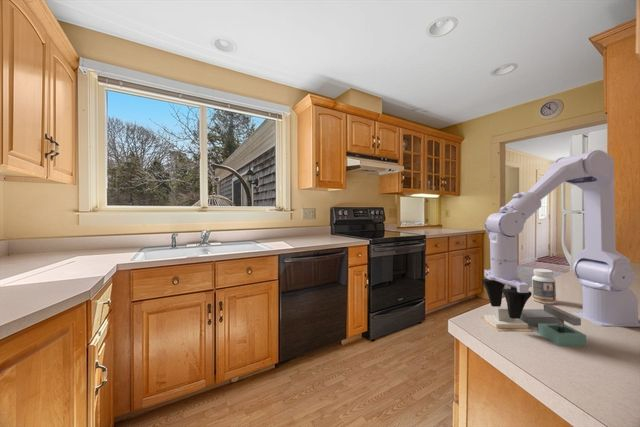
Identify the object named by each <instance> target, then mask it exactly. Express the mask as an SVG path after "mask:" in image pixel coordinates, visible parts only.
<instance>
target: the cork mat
mask: <svg viewBox="0 0 640 427" xmlns="http://www.w3.org/2000/svg"><path fill="white" fill-rule="evenodd" d="M480 319H482V321H485V322H486V323H487V324H488V325H489V326H491V327H492V328H493V329H495V330H496V331H497V332H534V330H532V329H531V328H529V327H528V328H496V327H494V326H493V325H492V324H490V323H489V322H488V321H487V320H485V319H484V316H480Z"/></svg>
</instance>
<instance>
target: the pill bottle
mask: <svg viewBox="0 0 640 427" xmlns="http://www.w3.org/2000/svg"><path fill="white" fill-rule="evenodd" d="M533 274H534V275H533V276H532V277H531V293H532V295H531V297H532V300H533V301H534V302H537V303H540V304H550V305H554V304H555V303H557V292H556V291H557V288H556V279H555V278H554V277H553V276H554V271H553V270H551V269H545V268H534V269H533Z"/></svg>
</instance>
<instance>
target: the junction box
mask: <svg viewBox="0 0 640 427" xmlns="http://www.w3.org/2000/svg"><path fill="white" fill-rule="evenodd" d="M520 320H522V321H523V322H525V323H527V324H528V327H538V323H544V324H558V317H556V316H554V315H551V314H549V313H547V312H545V311H544V308H543V309H540V308H539V309H535V308H534V309H532V308H530V309H527V308H526V309H524V308H523V311H522V314H521V317H520Z"/></svg>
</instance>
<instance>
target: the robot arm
mask: <svg viewBox="0 0 640 427" xmlns="http://www.w3.org/2000/svg"><path fill="white" fill-rule="evenodd" d="M614 161H615V160H614V157H612V156H611V155H610V154H608V153H607V152H605V151H603V150H600V149H595V150H592V151H590V152H585V153H581V154H580V153H579V154H574V155H570V156H564V157H562V156H561V157H559V158H556V159H555V160H554V162H552V163H551V164H549V165H548V170H547V171H546V172H545V173H544V174H543V175H542V176H541V177H540V179H538V180H537V181H536V182H535V183H534V184H533V186H531V188H530V189H529V190H528V191H521V192H518V193H517V192H516V193H514V194H513V195H512V198H511V200H509V201H508V202H507V203H506V204H505V205H504V206H501V207H500V208H499V211H497V212H495V213H491V214H490V215H488V217H487V218H486V219H485V220H486V221H485V223H484V222H483V227H484V230H485V231H486V232H487V234H488V239H489V251H490V253H489V258H490V261H489V262H490V269H484V273H483V274H484V275H483V276H484V277H485V278H482V279H481V283H482V284H483V286H484V288H485V289H486V293H487V296H488V298H489V303H490V306H491V307H494V308H495V307H502V302H503V301H502V300H503V295H504V298H505V301H506V307H508V314H509V317H510V318H512V319H520V317H521V314H522V311H523V309H524V307H525V306H526V303H528V302H527V301H528V300H529V299H530V298H531V297H532V291H530V290H529V289H530V288H529V287H530V285H529V284H528V283H526V282H524V280H523V279H521V278H520V277H519V266H518V265H519V264H518V259H519V258H518V235H519V234H520V233H522V231H523V230H524V226H525V224H526V222H527V220H528V219H530V217H531V216H533V214H535V213H536V212H537V211H538V210H539V209H540V208H541V207H542V200H543V199H544V198H545V197H547V196H548V195H549V194H550V193H552V192H553V191H554V190H555V189H557V188H558V187H559V186H561V184H563V183H566V184H569V185H573V186H576V187H577V188H579V189H581V190H582V191H583V213H584V214H583V215H584V217H583V218H584V222H583V224H584V248H583V249H582V250H581V251H579V252H577V253H576V254H575V262H574V264H573V266H572V272H573V275H574V276H575V277H576V278H577V279H578V281H579V282H578V283H580V284H581V285H582V288H581V289H582V290H581V291H582V295H581V296H582V311H573V312H572V313H573V314H572V315H574V316H576V317H579V318H582V319H585V321H586V320H587V321H588V322H591V323H593V324H596V325H598V326H599V327H627V328H628V327H629V328H630V327H631V328H632V327H633V328H634V327H635V328H636V327H637V328H638V327H639V328H640V322H639V300H638V297H637V295H636V294H635V292H634V291H633V290H632V289H630V287H631V286H632V285H633V284H634V283H635V273H634V271H633V269H632V267H631V260H630V259H629V257H627V256H625V255H624V254H622V253H621V252H619V251H618V250H617V248H616V247H617V246H616V210H615V209H616V207H615V206H616V205H615V204H616V203H615V200H616V199H615V169H614V168H615V167H614V165H615V163H614ZM505 286H507V287H510V288H505Z"/></svg>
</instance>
